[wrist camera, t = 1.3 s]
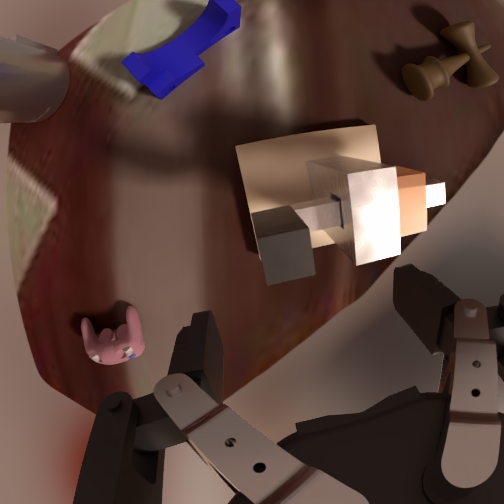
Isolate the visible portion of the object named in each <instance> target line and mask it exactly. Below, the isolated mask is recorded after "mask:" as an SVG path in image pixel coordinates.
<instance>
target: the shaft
mask: <svg viewBox="0 0 504 504" xmlns="http://www.w3.org/2000/svg"><path fill="white" fill-rule="evenodd" d="M426 199H427V207H431V206H436V205H441V204H445V183H444V182H441V181H438V180H434V179H430V180H426ZM251 217H252V222H253V226H254V231H255V235H256V240H257V244H258V249H259V253H260V257H261V261H262V266H263V270H264V274H265V278H266V283H267V286H268V285H272V284H277V283H281V282H286V281H290V280H294V279H299V278H303V277H307V276H312V275H316V274H315V266H314V259H313V251H312V244H311V237H310V232H313V231H318V230H323V229H327V228H332V227H337V226H341V225H344V224H343V215H342V206H341V198H339V197H337V196H331V197H326V198H321V199H316V200H311V201H306V202H301V203H296V204H291V205H286V206H281V207H277V208H272V209H267V210H262V211H258V212H253V213H251Z"/></svg>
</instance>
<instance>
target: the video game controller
mask: <svg viewBox="0 0 504 504" xmlns="http://www.w3.org/2000/svg"><path fill="white" fill-rule="evenodd" d="M126 320H127V324H122V325H120V326H119V327H118V329H117V337H118V338H119V339H117V340H115V333H114V332H113V331H112V330H111V329H109V328H105V329H103V330H102V332H101V334H100V336H99V338H97V336H96V334H95V331H94V328H93V326H92V323H91V322H90V320H89V319H88V318H83V320H82V322H81V330H82V335H83V340H84V344H85V349H86V352H87V354H88V355H89V357H90V358H91V359H92V360H94V361H96V362H97V363H101V364H107V365H111V364H118V363H121V362H124V361H127V360H128V359H130V358H135V357H138V356H139V355H140V354H141V353H142V352H143V350H144V347H145V342H144V339H143V335H142V328H141V323H140V319H139V315H138V313H137V311H136V309H135V307H134V306H131V305H129V306H128V307H127V310H126Z"/></svg>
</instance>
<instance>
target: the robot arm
mask: <svg viewBox="0 0 504 504" xmlns="http://www.w3.org/2000/svg"><path fill="white" fill-rule="evenodd" d="M69 82H70V72H69V67H68V65H67V63H66V61H65V60H64V59H63V58H61V57H60V56H59V55H58V50H57V49H55V48H52V47H50V46H47V45H44V44H42V43H39V42H37V41H34V40H31V39H29V38H26V37H23V36H20V35H17V34H14V35H12V36H10V37H9V38H4V37H0V123H17V122H18V123H19V122H25V123H30V122H40V121H43V120H45V119H47V118H49V117H50V116H51V115H53V114H54V113H55V112H56V111H57V109H58V108H59V107H60V105H61V104H62V102H63V100H64V98H65V96H66V93H67V91H68V87H69ZM393 303H394V306H395V309H396V311H397V312H398V313H399V314H400V316H401V317H402V318H403V319H404V320H405V321H406V323H407V324H408V325H409V326H410V328H411V329H412V330H413V331H414V333H415V334H416V335H417V336H418V337H419V339H420V340H421V341H422V343H423V344H424V345H425V346H426V348H427V349H428V350H429V351H430V353H431V354H432V355H435V354H438V353H440V352H442V351H443V353H444V357H443V362H442V369H441V376H440V383H439V389H438V393H436V392H426V393H420V392H419V391H418V389H417V387H416V386H413V387H411V388H409V389H406V390H403V391H401V392H398V393H396V394H393V395H391V396H388V397H387V398H385V399H384V400H382V401H380V402H379V403H377V404H376V405H374V406H373V407H371V408H369V409H367V410H365V411H364V412H361V413H354V414H342V415H328V416H324V417H320V418H316V419H312V420H307V421H303V422H299V423H296V429H297V432H295V433H293V434H291V435H289V436H287V437H285V438H284V439H282V440H281V441H279V442H278V443H277V444H275V443H274V442H272V441H271V440H270V439H268V438H267V437H266V436H264V435H263V434H262V433H261V432H259V431H258V430H257V429H256V428H254V427H253V426H252V425H251V424H249V423H248V422H247V421H246V420H244V419H243V418H242V417H241V416H239V415H238V414H237V413H236V412H235V411H233V410H232V409H231V408H230V407H229V406H227V405H225V404H223V366H224V349H223V343H222V340H221V337H220V334H219V331H218V328H217V325H216V322H215V319H214V316H213V313H212V311H211V310H209V311H204V312H198V313H194V314H193V316H192V321H191V326H186V327H183V328H182V330H181V331H180V332H179V333H178V335H177V338H176V342H175V346H174V350H173V351H174V352H173V354H172V358H171V362H170V367H169V371H168V375H167V376H166V377H164V378H162V379H161V380H160V381H159V382H158V383H157V384H156V386H155V388H154V392H153V393H151V394H149V395H146V396H143V397H140V398H137V399H133V398H132V397H131V396H130V395H129V394H128V393H126V392H115V393H112V394H110V395H108V396H107V397H105V398H104V399H103V400H102V402H101V403H100V405H99V408H98V411H97V414H96V418H95V420H94V424H93V427H92V431H91V434H90V437H89V441H88V444H87V448H86V451H85V456H84V459H83V463H82V467H81V470H80V475H79V479H78V484H77V487H76V492H75V496H74V501H73V504H162V488H163V471H164V457H165V448H167V447H171V446H174V445H177V444H180V443H183V442H187V443H188V445H189V446H190V447H191V448H192V449H193V450H194V452H196V454H197V455H198V456H199V457H200V458H201V459H202V460H203V461H204V462H205V464H206V465H207V466H208V467H209V468H210V469H211V470H212V471H213V472H214V473H215V474H216V475H217V477H218V478H219V479H220V480H221V481H222V482H223V483H224V484H225V485H226V486H227V487H228V488H229V489H230V490H231V491H232V492H233V493H234V494H235V496H234V497H233V498H232V499H231V501H230V502H229V503H228V504H504V414H503V413H500V412H498V374H499V376H500V377H501V378H502V380H503V381H504V294H503V295H501V297H500V300H499V304H498V306H493V307H486V308H485V306H484V305H483V304H482V303H481V302H479V301H477V300H474V299H463V300H461V299H460V298H459V297H458V296H457V295H455V294H454V293H453V292H452V291H451V290H450V289H449V288H447V287H446V286H444V284H443V283H441V282H439V280H438V279H436V278H435V277H434V276H433V275H431V274H429V273H426V272H423V271H420V270H419V269H417V268H416V267H415V266H414V265H412V264H406V265H403V266H399V267H396V268H395V270H394V281H393Z"/></svg>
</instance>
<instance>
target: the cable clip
mask: <svg viewBox="0 0 504 504" xmlns="http://www.w3.org/2000/svg"><path fill="white" fill-rule="evenodd" d="M240 15H241V6H240V5H239V4H238V3H237V2H236V1H235V0H209V2H208V5H207V7H206V9H205V10H204V12H203V13H202V15H201V16H200V17H199V18H198V19H197V21H196V22H195V23H194V24H193V25H192V26H191V27H189V28H188V29H187V30H186V31H185V32H184V33H182V34H181V35H180V36H178V37H177V38H176V39H174V40H173V41H171V42H170V43H168V44H166V45H165V46H163V47H161V48H159V49H157V50H154V51H152V52H148V53H144V54H137V53H134V52H132V53H131V54H130V55H129V56H127V57H126V58H125V59H124V60H123V61H122V62H121V63H122V64H123V65H124V66H125V67H126V68H127V69H128V70H129V72H130V73H131V74H132V75H133V76H134V77H135V78H136V79H137V80H138V81H139V82H140V83H142V84H144V85H145V86H147V87H148V88H149V89H150V90H151V91H152V93H153V94H154V95H155V96H157V97H158V98H160V99H163V98H165V97H166V96H167V95H168V94H169V93H170V92H172V91H173V90H174V89H175V88H176V87H178V86H179V85H180V84H181V83H183V82H184V81H185V80H186V79H188V78H189V77H190V76H191V75H193V74H194V73H195V72H197V71H198V70H199V69H201V68H202V67H203V66H205V65H204V62H203V61H202V60H201V59H200V58H199V57H198V55H199V54H201V53H202V52H203V51H205V50H206V49H208V48H209V47H211V46H212V45H213V44H215V43H216V42H218V41H219V40H221V39H222V38H224V37H225V36H227V35H228V34H230V33H231V32H233V31H235V30H236V29H238V28H239V27H240Z"/></svg>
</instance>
